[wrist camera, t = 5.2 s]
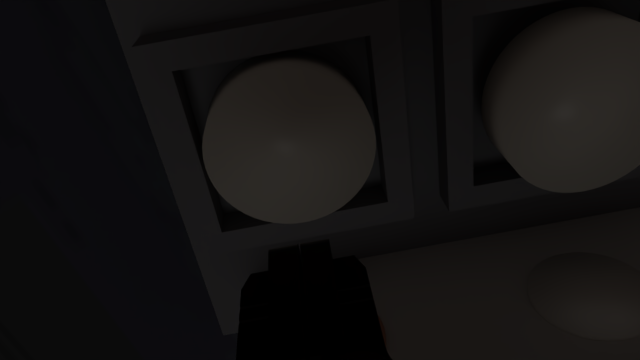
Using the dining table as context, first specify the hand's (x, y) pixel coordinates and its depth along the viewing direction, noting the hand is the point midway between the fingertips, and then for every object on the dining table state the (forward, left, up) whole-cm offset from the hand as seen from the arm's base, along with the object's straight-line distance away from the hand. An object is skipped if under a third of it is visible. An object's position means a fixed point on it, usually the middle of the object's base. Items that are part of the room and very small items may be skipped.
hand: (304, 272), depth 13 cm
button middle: (-10, 0, -7) cm, 12 cm away
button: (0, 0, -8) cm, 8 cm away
